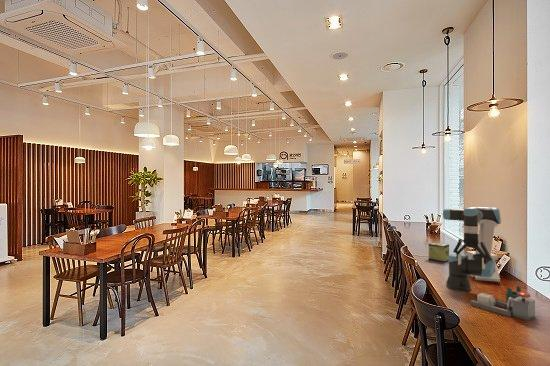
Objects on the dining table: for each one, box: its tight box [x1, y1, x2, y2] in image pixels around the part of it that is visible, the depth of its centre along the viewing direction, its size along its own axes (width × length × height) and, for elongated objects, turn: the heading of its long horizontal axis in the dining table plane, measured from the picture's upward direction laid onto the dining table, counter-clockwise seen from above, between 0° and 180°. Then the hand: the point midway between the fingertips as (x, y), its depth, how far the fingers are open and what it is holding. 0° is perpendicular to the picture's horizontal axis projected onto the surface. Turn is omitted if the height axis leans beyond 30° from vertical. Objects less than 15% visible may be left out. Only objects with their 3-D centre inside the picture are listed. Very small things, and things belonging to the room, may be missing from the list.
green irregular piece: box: [505, 285, 522, 302], centre depth 190 cm, size 9×9×9 cm
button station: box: [506, 291, 536, 322], centre depth 170 cm, size 10×10×12 cm
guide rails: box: [470, 299, 513, 317], centre depth 181 cm, size 14×20×2 cm
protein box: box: [428, 242, 450, 263], centre depth 294 cm, size 10×16×16 cm
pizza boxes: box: [466, 250, 501, 283], centre depth 238 cm, size 19×30×18 cm, turn 157°
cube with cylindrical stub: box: [476, 292, 496, 307], centre depth 184 cm, size 6×8×6 cm
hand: (471, 266), depth 191 cm, fingers open, 13 cm apart
